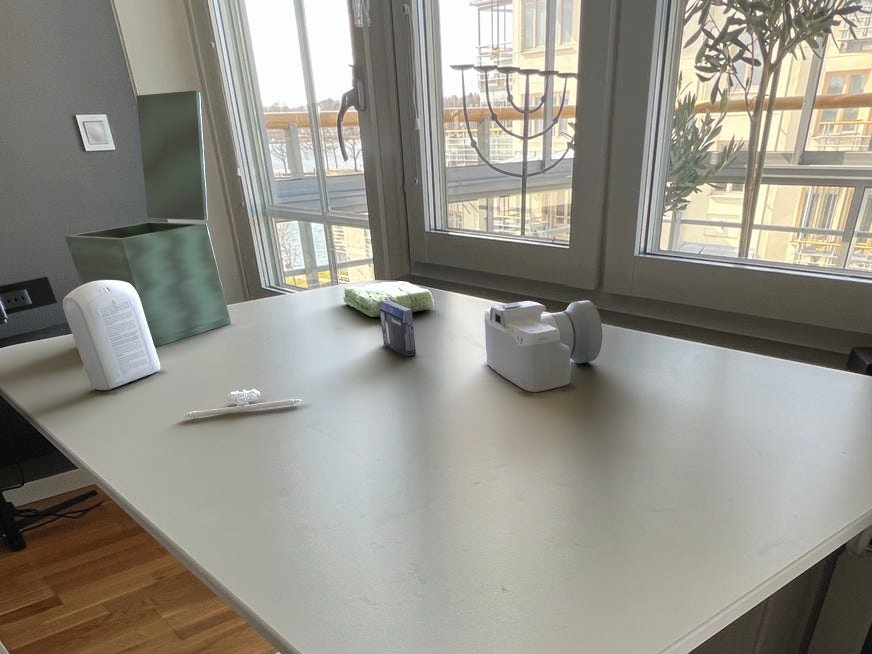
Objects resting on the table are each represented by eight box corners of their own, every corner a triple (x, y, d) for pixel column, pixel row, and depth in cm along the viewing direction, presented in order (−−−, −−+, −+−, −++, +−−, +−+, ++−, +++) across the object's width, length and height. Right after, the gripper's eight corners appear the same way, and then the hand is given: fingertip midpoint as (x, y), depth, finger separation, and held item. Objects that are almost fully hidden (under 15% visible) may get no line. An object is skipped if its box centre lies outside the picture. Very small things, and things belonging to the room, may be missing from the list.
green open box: (155, 347, 110) (120, 239, 101) (100, 338, 116) (64, 236, 107) (231, 323, 121) (206, 223, 112) (178, 316, 127) (150, 221, 118)
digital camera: (612, 411, 89) (628, 335, 81) (505, 420, 87) (511, 342, 79) (575, 347, 99) (586, 274, 92) (478, 353, 97) (482, 279, 89)
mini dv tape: (383, 344, 105) (378, 301, 102) (392, 342, 106) (388, 299, 102) (406, 356, 100) (401, 311, 96) (416, 354, 100) (411, 309, 97)
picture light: (184, 420, 83) (178, 402, 81) (187, 408, 86) (181, 390, 85) (302, 404, 85) (299, 387, 84) (301, 393, 88) (297, 376, 87)
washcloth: (406, 293, 134) (404, 274, 132) (439, 310, 121) (437, 290, 119) (340, 302, 130) (337, 283, 128) (367, 321, 117) (364, 301, 115)
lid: (195, 90, 104) (199, 91, 105) (135, 95, 110) (140, 96, 111) (203, 220, 111) (207, 220, 112) (147, 217, 117) (151, 218, 118)
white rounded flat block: (145, 367, 101) (113, 273, 94) (167, 370, 100) (137, 274, 92) (87, 390, 94) (48, 289, 86) (110, 393, 92) (72, 291, 85)
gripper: (-220, 355, 76) (-24, 312, 90) (-110, 383, 65) (93, 329, 79) (-268, 279, 71) (-54, 246, 85) (-159, 295, 60) (66, 254, 74)
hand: (17, 286), depth 82 cm, fingers open, 13 cm apart
